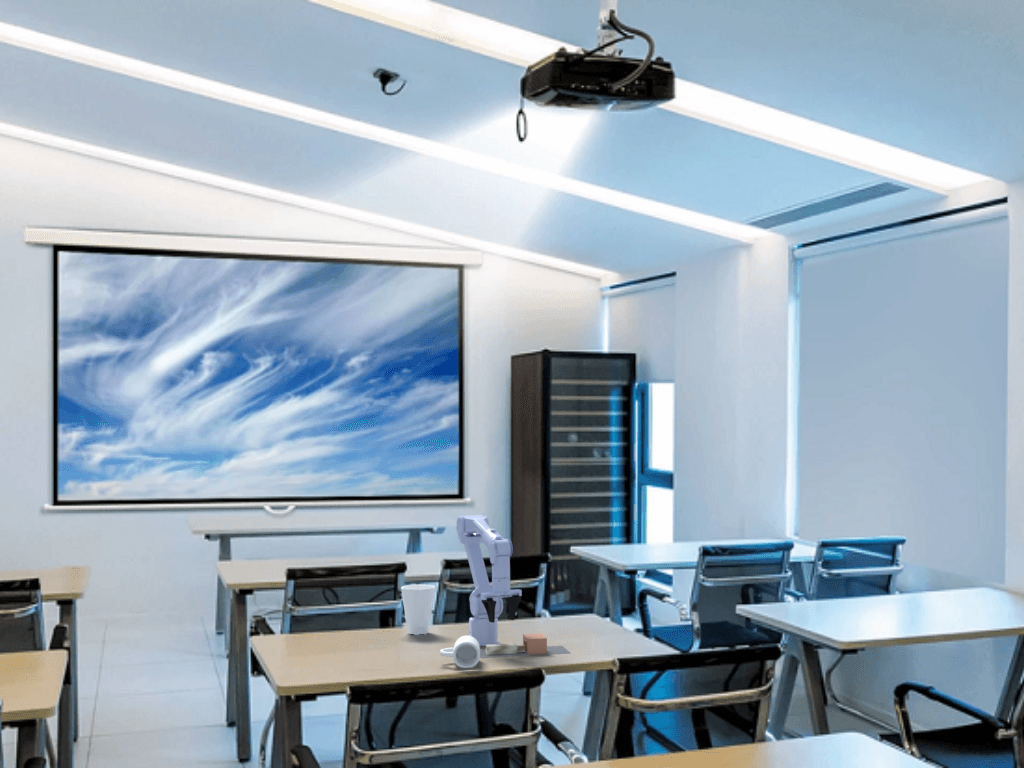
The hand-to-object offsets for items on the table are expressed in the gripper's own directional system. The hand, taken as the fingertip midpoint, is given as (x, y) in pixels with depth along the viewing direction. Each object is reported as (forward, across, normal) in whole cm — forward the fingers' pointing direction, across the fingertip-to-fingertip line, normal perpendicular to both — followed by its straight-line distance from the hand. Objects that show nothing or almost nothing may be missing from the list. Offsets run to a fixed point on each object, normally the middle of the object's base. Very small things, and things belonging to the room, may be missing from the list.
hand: (501, 620), depth 334 cm
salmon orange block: (+9, +7, -8) cm, 14 cm away
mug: (+10, -21, -8) cm, 25 cm away
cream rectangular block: (+9, -2, -4) cm, 10 cm away
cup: (+9, -6, +43) cm, 44 cm away
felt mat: (+10, +2, -5) cm, 11 cm away
